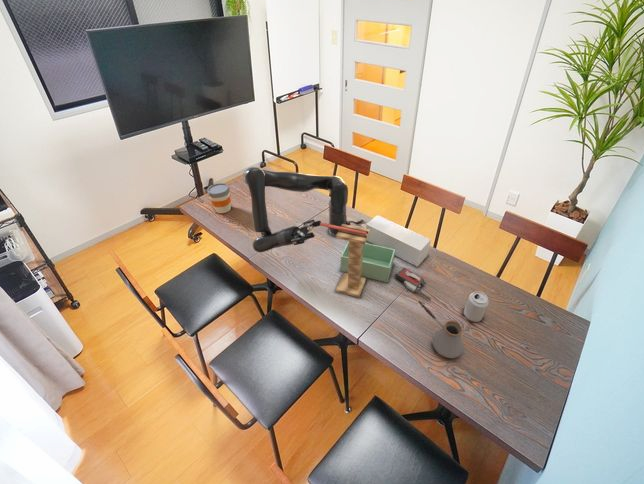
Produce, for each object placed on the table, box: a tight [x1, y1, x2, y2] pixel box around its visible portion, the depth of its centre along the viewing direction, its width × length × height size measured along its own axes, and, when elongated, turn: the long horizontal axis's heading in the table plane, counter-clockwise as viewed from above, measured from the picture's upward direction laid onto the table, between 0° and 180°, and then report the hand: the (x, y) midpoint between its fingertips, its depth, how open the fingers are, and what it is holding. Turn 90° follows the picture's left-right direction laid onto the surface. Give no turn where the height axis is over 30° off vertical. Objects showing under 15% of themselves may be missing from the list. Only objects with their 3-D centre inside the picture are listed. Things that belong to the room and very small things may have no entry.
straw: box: [319, 222, 366, 235], centre depth 134 cm, size 20×1×1 cm, turn 71°
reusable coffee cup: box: [206, 182, 232, 214], centre depth 198 cm, size 13×13×15 cm
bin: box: [340, 240, 395, 283], centre depth 159 cm, size 23×13×10 cm, turn 71°
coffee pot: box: [416, 300, 464, 359], centre depth 125 cm, size 21×12×15 cm, turn 45°
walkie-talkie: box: [394, 267, 432, 301], centre depth 151 cm, size 9×4×20 cm
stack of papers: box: [365, 214, 432, 267], centre depth 170 cm, size 32×11×11 cm, turn 50°
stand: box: [335, 224, 370, 298], centre depth 142 cm, size 12×11×33 cm
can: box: [463, 290, 490, 323], centre depth 135 cm, size 8×8×12 cm
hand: (317, 228), depth 138 cm, fingers open, 8 cm apart
